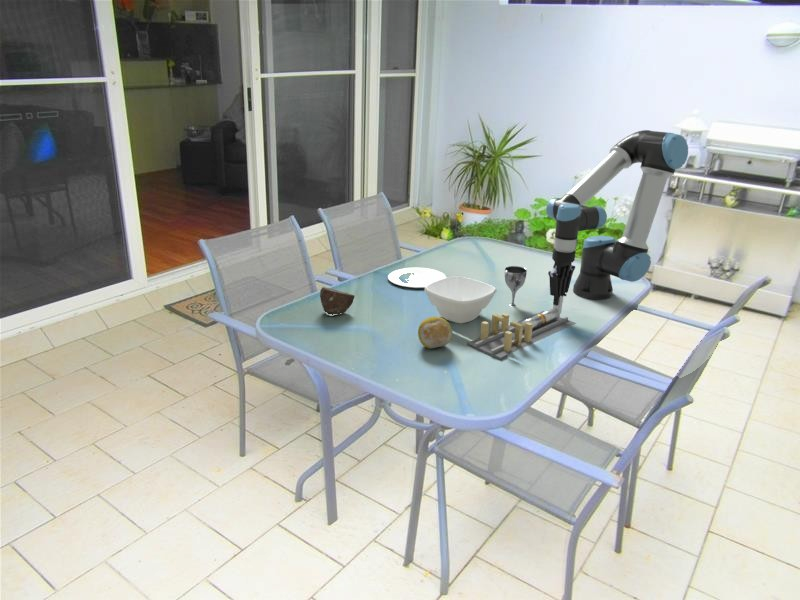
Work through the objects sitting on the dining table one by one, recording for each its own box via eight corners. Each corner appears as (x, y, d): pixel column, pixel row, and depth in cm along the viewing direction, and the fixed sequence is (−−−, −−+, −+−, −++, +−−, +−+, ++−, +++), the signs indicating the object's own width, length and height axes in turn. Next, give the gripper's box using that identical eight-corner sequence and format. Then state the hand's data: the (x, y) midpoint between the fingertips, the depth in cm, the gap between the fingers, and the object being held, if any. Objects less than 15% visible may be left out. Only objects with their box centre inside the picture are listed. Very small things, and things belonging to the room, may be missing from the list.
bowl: (455, 301, 231) (457, 273, 227) (502, 318, 216) (504, 288, 212) (415, 317, 217) (416, 287, 212) (462, 336, 202) (464, 304, 198)
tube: (550, 317, 216) (551, 306, 214) (559, 320, 213) (560, 310, 211) (518, 330, 205) (519, 320, 203) (527, 334, 202) (529, 323, 200)
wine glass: (523, 311, 222) (526, 273, 216) (501, 310, 223) (504, 272, 218) (523, 304, 229) (526, 266, 224) (502, 302, 231) (505, 265, 225)
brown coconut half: (355, 296, 222) (354, 290, 212) (347, 322, 220) (346, 317, 210) (323, 287, 222) (320, 281, 212) (315, 313, 220) (312, 308, 210)
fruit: (412, 343, 197) (413, 315, 193) (441, 338, 201) (443, 310, 197) (426, 356, 188) (426, 327, 184) (456, 350, 192) (457, 322, 188)
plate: (457, 277, 257) (457, 273, 257) (427, 295, 238) (428, 291, 237) (407, 267, 270) (407, 263, 269) (376, 283, 250) (376, 279, 249)
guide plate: (543, 313, 221) (544, 295, 219) (575, 325, 211) (578, 306, 209) (467, 344, 196) (468, 325, 193) (500, 360, 186) (502, 339, 184)
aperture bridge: (493, 333, 202) (495, 313, 199) (521, 345, 194) (523, 324, 191) (490, 335, 201) (492, 315, 198) (518, 347, 193) (520, 326, 190)
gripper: (566, 243, 212) (558, 305, 221) (543, 250, 204) (536, 313, 213) (584, 248, 207) (576, 311, 215) (562, 255, 199) (554, 320, 207)
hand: (556, 312), depth 214 cm, fingers closed
